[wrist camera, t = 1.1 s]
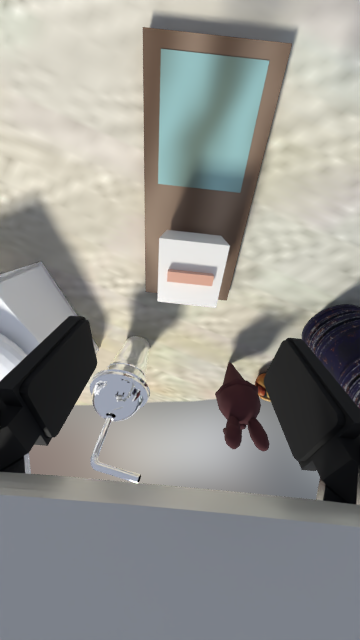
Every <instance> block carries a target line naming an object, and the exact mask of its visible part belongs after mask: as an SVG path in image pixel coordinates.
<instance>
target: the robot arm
mask: <svg viewBox="0 0 360 640" xmlns="http://www.w3.org/2000/svg"><path fill="white" fill-rule="evenodd" d="M96 366H97V358H96V354H95V349H94V344H93V339H92V335H91V330H90V325H89V322H88V321H87V320H85V318H84V317H80V316H69V317H68V318H67V319H66V320H64V321H63V322H62V323H61V324H60V325H59V326H58V327H57V328H56V329H55V330H54V331H53V332H52V333H51V334H50V335H49V336H47V337H46V338H45V339H44V340H43V341H42V342H41V343H40V344H39V345H38V346H37V347H36V348H35V349H34V350H33V351H31V352H30V353H29V354H28V355H27V356H26V357H25V358H24V359H23V360H22V361H21V362H20V363H19V364H18V365H17V366H16V367H14V368H13V369H12V370H11V371H10V372H9V373H8V374H7V375H6V376H5V377H4V378H3V379H2V380H1V381H0V640H360V409H359V407H358V406H357V405H356V404H355V403H354V401H353V400H352V399H351V398H350V397H349V395H348V394H347V393H346V392H345V390H344V389H343V388H342V387H341V386H340V384H339V383H338V382H337V381H336V379H335V378H334V377H333V376H332V375H331V373H330V372H329V371H328V370H327V368H326V367H325V366H324V365H323V364H322V362H321V361H320V360H319V359H318V358H317V356H316V355H315V354H314V353H313V351H312V350H311V349H310V348H309V347H308V345H307V344H306V343H305V342H304V341H303V340H302V339H296V338H287V339H286V340H285V341H283V342H282V343H281V345H280V347H279V349H278V351H277V353H276V355H275V357H274V359H273V361H272V363H271V365H270V367H269V369H268V371H267V373H266V375H265V377H264V385H265V388H266V390H267V393H268V395H269V398H270V400H271V403H272V405H273V407H274V410H275V413H276V415H277V417H278V420H279V422H280V425H281V427H282V430H283V432H284V435H285V437H286V440H287V442H288V444H289V447H290V449H291V452H292V454H293V456H294V458H295V459H296V460H297V461H298V462H299V464H300V466H301V468H302V470H310V471H316V470H317V471H318V473H319V475H320V481H319V486H318V491H317V496H316V500H313V499H302V498H292V497H282V496H271V495H261V494H251V493H241V492H230V491H220V490H209V489H199V488H188V487H177V486H166V485H155V484H145V483H134V482H122V481H110V480H100V479H88V478H76V477H65V476H53V475H39V474H31V472H30V461H29V451H30V450H31V448H32V447H33V445H34V444H36V445H46V446H47V445H48V444H49V442H50V440H51V438H52V437H55V436H56V435H58V433H59V431H60V430H61V428H62V426H63V424H64V423H65V421H66V419H67V417H68V416H69V414H70V412H71V410H72V409H73V407H74V405H75V403H76V402H77V400H78V398H79V396H80V395H81V393H82V391H83V389H84V388H85V386H86V384H87V382H88V381H89V379H90V377H91V375H92V374H93V372H94V370H95V368H96Z"/></svg>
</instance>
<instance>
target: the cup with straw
mask: <svg viewBox="0 0 360 640" xmlns="http://www.w3.org/2000/svg"><path fill="white" fill-rule="evenodd" d="M148 355H149V343H148V341H147V340H146V339H144V338H142V337H139V336H132V337H129V338H128V339H127V340H126V342H125V343H124V345H123V346H122V348H121V349H120V351H119V352H118V353H117V355H116V356H115V358H114V359H113V361H112V362H111V364H109V365H108V366H107V368H106V369H105V370H103V371H100V372H98V373H97V374H96V375H94V377H93V378H92V381H91V384H90V391H91V394H92V402H93V406H94V409H95V411H96V412H97V413H98V414H99V415H100V416H101V417H102V418H104V419H106V421H105V423H104V426H103V428H102V431H101V433H100V436H99V438H98V441H97V443H96V446H95V448H94V451H93V453H92V456H91V465H92V468H93V469H94V470H97V471H100V472H103V473H106V474H110V475H112V476H116V477H119V478H122V479H125V480H128V481H132V482H135V483H139V481H140V477H141V475H140V474H136V473H133V472H130V471H127V470H123V469H120V468H117V467H113V466H110V465H107V464H104V463H100V462H99V461H98V456H99V453H100V450H101V448H102V445H103V442H104V439H105V437H106V434H107V432H108V429H109V426H110V423H111V421H122V420H125V419H127V418H129V417H131V416H132V415H133V414H134V413H135V412H136V411H137V410H138V409H139V408H141V407H142V406H144V405H145V404H146V402H147V400H148V398H149V396H150V390H149V387H148V385H147V384H146V370H147V363H148Z"/></svg>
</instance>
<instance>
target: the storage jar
mask: <svg viewBox="0 0 360 640" xmlns="http://www.w3.org/2000/svg"><path fill="white" fill-rule="evenodd" d="M302 340H303V341H304V342H305V343H306V344H307V345H308V347H309V348H310V349H311V350H312V351H313V353H314V354H315V355H316V356H317V358H318V359H319V360H320V361H321V362H322V364H323V365H324V366H325V367H326V368H327V370H328V371H329V372H330V373H331V375H332V376H333V377H334V378H335V379H336V381H337V382H338V383H339V384H340V386H341V387H342V388H343V389H344V390H345V392H346V393H347V394H348V395H349V397H350V398H351V399H352V400H353V401H354V403H355V404H356V405H357V406H358V407H359V409H360V307H358V306H355V305H349V304H344V305H337V306H333V307H330V308H327V309H325V310H323V311H321V312H319V313H318V314H316V315H315V316H314V317H312V318H311V319H310V320H309V321H308V323H307V324H306V325H305V327H304V329H303V332H302Z"/></svg>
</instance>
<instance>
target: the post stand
mask: <svg viewBox="0 0 360 640" xmlns="http://www.w3.org/2000/svg"><path fill="white" fill-rule="evenodd" d="M291 46H292V44H291V43H282V42H273V41H264V40H255V39H246V38H237V37H228V36H219V35H210V34H200V33H191V32H182V31H173V30H164V29H155V28H146V27H143V87H144V180H145V274H146V292H152V293H158V262H159V238H160V237H161V236H162V235H163V233H164V232H165V231H166V230H173V231H183V232H192V233H201V234H210V235H219V236H222V237H223V238H224V240H225V241H226V242H227V243H228V244H229V245H230V247H229V252H228V256H227V261H226V265H225V270H224V274H223V279H222V283H221V287H220V292H219V296H218V300H227V297H228V293H229V289H230V285H231V281H232V277H233V273H234V270H235V266H236V262H237V258H238V254H239V250H240V246H241V242H242V238H243V234H244V230H245V226H246V222H247V219H248V215H249V211H250V207H251V203H252V199H253V195H254V191H255V187H256V183H257V179H258V175H259V172H260V168H261V164H262V160H263V156H264V152H265V148H266V144H267V140H268V136H269V132H270V128H271V124H272V121H273V117H274V113H275V109H276V105H277V101H278V97H279V93H280V89H281V85H282V81H283V77H284V73H285V70H286V66H287V62H288V58H289V54H290V50H291Z"/></svg>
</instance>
